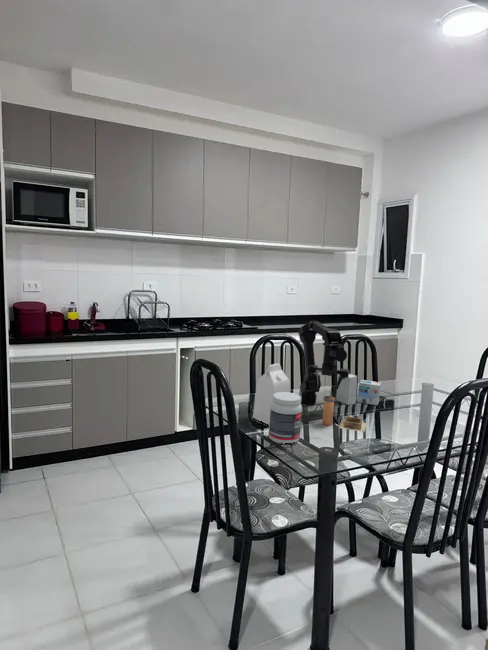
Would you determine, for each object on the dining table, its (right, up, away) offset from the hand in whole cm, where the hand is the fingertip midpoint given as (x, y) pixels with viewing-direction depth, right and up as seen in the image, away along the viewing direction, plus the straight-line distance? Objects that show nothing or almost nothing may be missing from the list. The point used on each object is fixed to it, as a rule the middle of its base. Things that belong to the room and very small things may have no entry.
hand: (326, 388), depth 216 cm
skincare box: (+14, -10, +23) cm, 29 cm away
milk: (-27, -13, -9) cm, 31 cm away
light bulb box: (+26, -11, +25) cm, 38 cm away
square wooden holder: (+9, -16, -13) cm, 22 cm away
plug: (-2, -15, -13) cm, 20 cm away
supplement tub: (-23, -17, -28) cm, 40 cm away
